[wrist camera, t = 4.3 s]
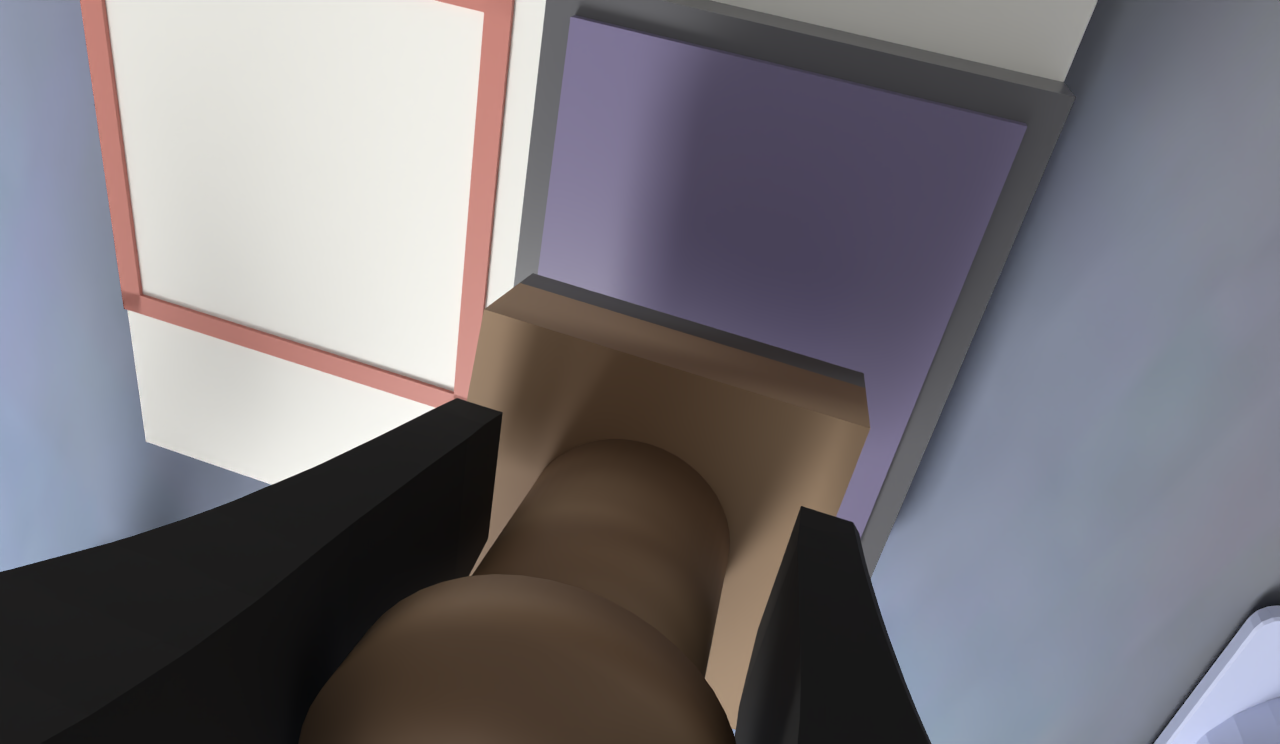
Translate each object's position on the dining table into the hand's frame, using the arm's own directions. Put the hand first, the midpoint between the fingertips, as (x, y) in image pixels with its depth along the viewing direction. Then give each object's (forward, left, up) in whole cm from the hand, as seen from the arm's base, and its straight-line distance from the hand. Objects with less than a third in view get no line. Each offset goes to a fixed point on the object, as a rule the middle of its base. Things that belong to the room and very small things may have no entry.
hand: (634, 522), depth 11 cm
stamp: (0, +1, -3) cm, 3 cm away
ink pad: (0, 0, -7) cm, 7 cm away
